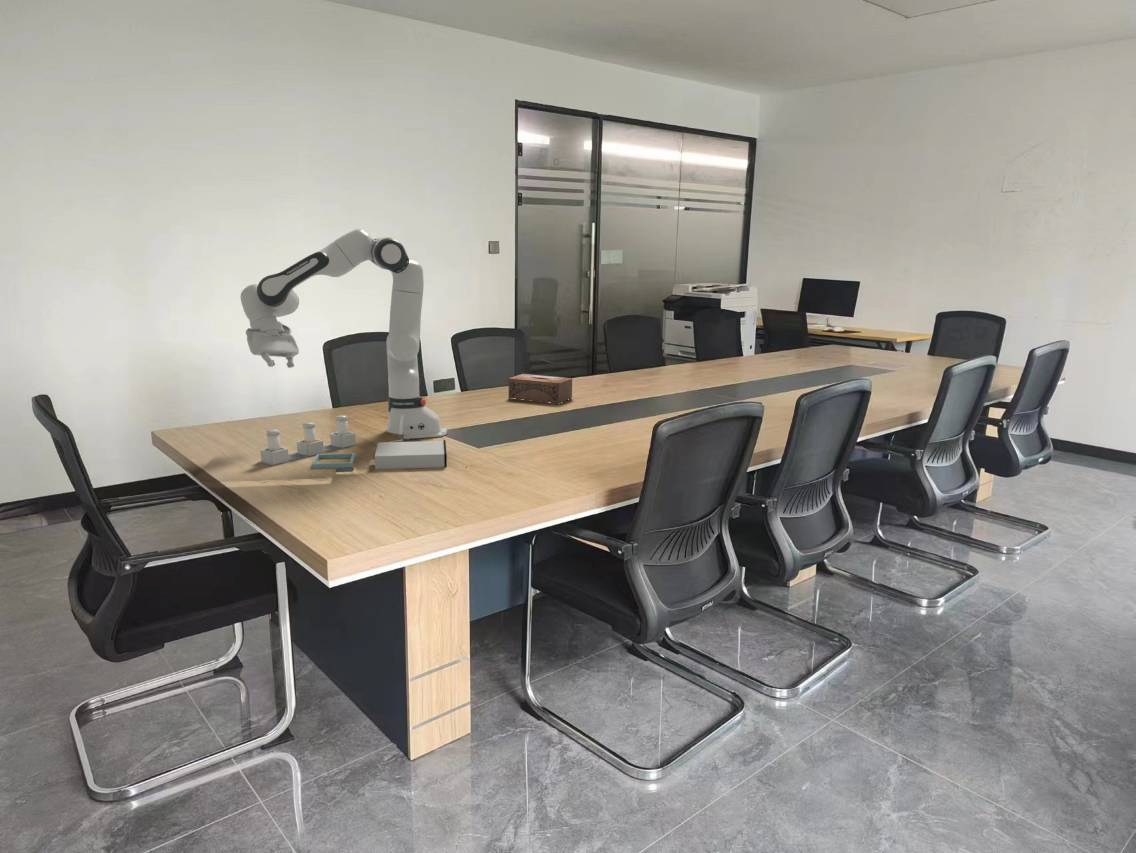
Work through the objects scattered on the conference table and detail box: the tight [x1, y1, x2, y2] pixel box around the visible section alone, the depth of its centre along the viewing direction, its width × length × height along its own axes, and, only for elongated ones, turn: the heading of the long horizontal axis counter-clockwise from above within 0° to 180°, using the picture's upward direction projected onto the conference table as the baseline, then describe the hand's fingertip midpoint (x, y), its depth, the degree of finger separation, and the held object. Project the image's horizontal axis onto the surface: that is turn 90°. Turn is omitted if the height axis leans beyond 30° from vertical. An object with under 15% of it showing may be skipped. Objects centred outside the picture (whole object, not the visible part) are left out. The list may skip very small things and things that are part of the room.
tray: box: [311, 452, 356, 473], centre depth 247 cm, size 12×12×3 cm
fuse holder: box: [257, 430, 359, 467], centre depth 258 cm, size 7×35×6 cm, turn 145°
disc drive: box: [374, 439, 448, 470], centre depth 256 cm, size 18×22×5 cm
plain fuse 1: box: [266, 428, 281, 452], centre depth 246 cm, size 4×4×10 cm
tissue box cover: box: [508, 373, 573, 404], centre depth 361 cm, size 26×14×10 cm, turn 66°
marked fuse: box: [302, 421, 317, 444], centre depth 257 cm, size 4×4×10 cm
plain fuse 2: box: [335, 414, 349, 436], centre depth 268 cm, size 4×4×10 cm
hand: (281, 366), depth 264 cm, fingers open, 8 cm apart
